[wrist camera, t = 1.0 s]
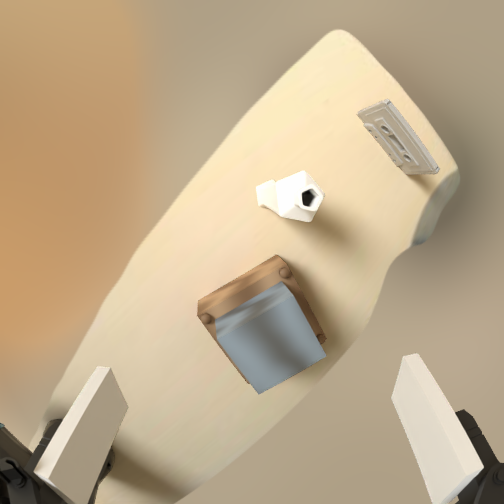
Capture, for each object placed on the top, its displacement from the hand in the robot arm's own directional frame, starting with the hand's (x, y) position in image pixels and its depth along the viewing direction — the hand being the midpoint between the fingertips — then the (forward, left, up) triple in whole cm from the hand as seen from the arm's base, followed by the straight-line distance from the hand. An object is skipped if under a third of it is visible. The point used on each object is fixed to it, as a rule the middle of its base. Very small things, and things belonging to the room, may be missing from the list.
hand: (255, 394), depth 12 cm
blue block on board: (0, -9, -27) cm, 29 cm away
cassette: (+28, +2, -28) cm, 40 cm away
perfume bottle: (+9, +3, -27) cm, 29 cm away
